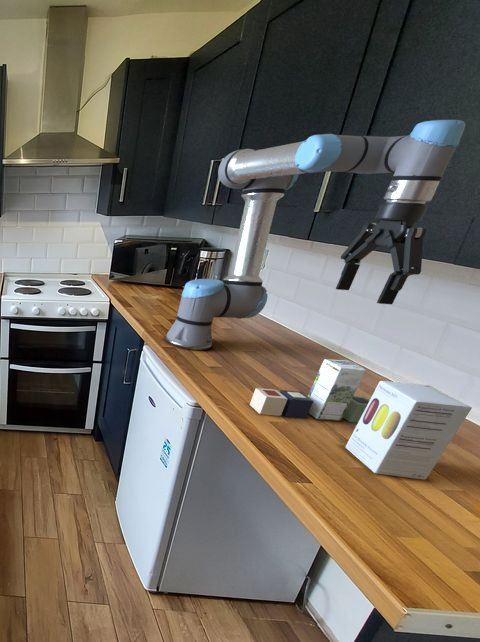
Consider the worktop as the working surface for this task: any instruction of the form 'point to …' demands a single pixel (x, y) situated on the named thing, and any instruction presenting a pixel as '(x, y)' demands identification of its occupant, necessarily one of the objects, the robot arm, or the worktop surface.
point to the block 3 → (355, 409)
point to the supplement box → (406, 429)
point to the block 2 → (296, 404)
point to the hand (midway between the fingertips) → (361, 296)
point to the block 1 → (268, 401)
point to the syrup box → (334, 388)
